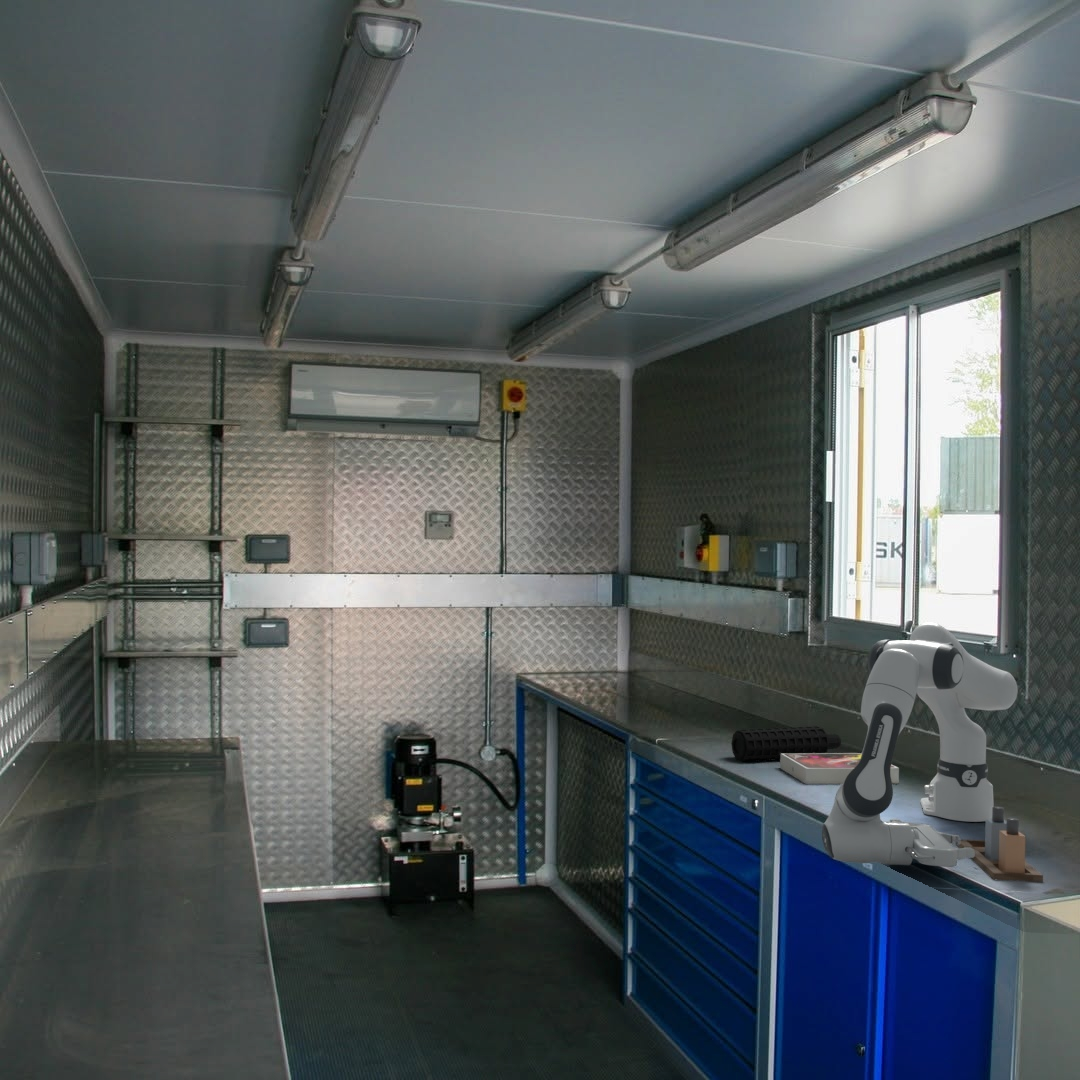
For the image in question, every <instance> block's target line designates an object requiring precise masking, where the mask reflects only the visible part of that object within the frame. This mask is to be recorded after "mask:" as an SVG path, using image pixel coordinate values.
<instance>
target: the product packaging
mask: <svg viewBox="0 0 1080 1080" xmlns="http://www.w3.org/2000/svg"><path fill="white" fill-rule="evenodd" d="M861 755H862V752H861V753H860V752H859V753H858V752H842V753H841V752H838V753H837V752H834V753H833V752H832V753H831V752H830V753H828V752H827V753H794V754H780V760H779V761H780V763H779V764H780V765H779V767H780V769H781V770H782V771H784V772H786V773H787V774H789V775H791V776H792V777H794V778H796V780H798V781H800V782H802V783H804V784H806V785H842V784H843V783H844V781H845V779H846V777H847V776H848V774H849V773H850V772H851V771H852V770H853V769H854V768H855V767H856V766H857V765H858V763H859V761H860V759H861ZM890 776H891V782H892V784H899V783H900V782H899V779H900V778H899V777H900V768H899V767H898V766H896V765H893V763H891V768H890Z"/></svg>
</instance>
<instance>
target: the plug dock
mask: <svg viewBox="0 0 1080 1080" xmlns="http://www.w3.org/2000/svg"><path fill="white" fill-rule="evenodd" d="M956 847H957V848H964V847H971V848H972V849H974V851H975V856H974V857H973V858H970V860H972V861H973V862H974V863H975V864H976V865H977V866H978V867H979V868H980V869H982V870H983V871H984V872H985V873H986V874H987V875H988V876H989V877H990V878H991V879H992V880H995V879H997V880H995V881H1019V882H1037V883H1043V882H1044V874H1042V873H1041V872H1040V871H1038V870H1037V869H1036V867H1035V868H1034V867H1033V866H1032V865H1031V864H1030V863H1028V862H1027V860H1025V873H1010V872H1001V871H1000V870H999V860H988V859H987V858H985V839H963V838H961V844H960V845H956Z"/></svg>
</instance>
